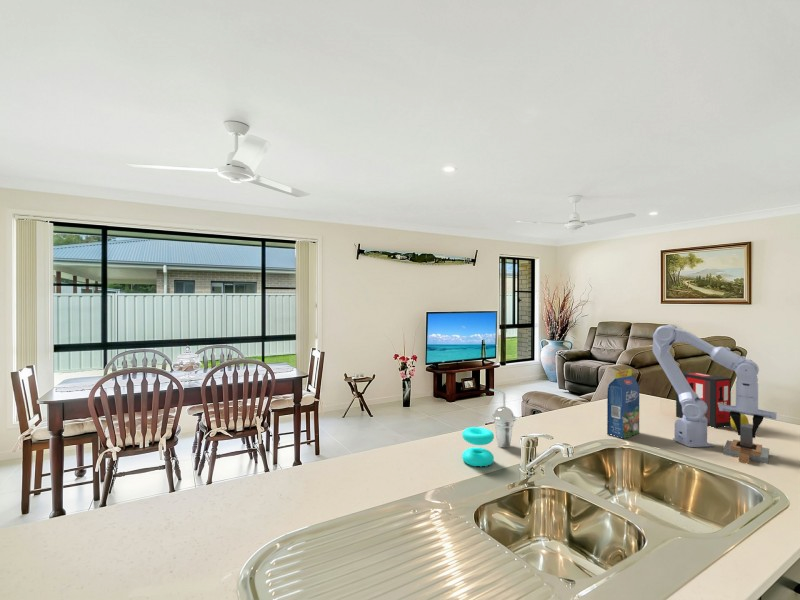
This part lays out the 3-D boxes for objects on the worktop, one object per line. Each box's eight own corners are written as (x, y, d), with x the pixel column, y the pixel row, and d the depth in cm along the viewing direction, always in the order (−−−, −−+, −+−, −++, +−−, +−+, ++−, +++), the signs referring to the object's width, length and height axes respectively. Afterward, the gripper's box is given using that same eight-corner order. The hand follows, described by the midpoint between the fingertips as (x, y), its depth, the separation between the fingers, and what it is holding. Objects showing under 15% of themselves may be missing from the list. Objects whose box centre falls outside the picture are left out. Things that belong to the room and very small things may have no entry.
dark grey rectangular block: (752, 449, 130) (752, 428, 130) (740, 446, 133) (740, 426, 133) (752, 446, 133) (753, 425, 133) (741, 443, 135) (741, 423, 135)
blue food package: (639, 433, 153) (640, 370, 153) (623, 439, 146) (623, 373, 146) (623, 429, 158) (623, 367, 158) (606, 434, 152) (607, 370, 152)
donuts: (460, 434, 123) (464, 424, 132) (460, 466, 123) (463, 454, 132) (493, 437, 120) (494, 427, 129) (493, 470, 120) (494, 457, 130)
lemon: (732, 433, 154) (732, 412, 154) (728, 428, 159) (728, 409, 159) (750, 435, 152) (750, 414, 152) (746, 431, 157) (746, 411, 156)
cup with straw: (506, 452, 134) (507, 393, 134) (485, 444, 141) (485, 389, 141) (520, 446, 139) (521, 390, 139) (499, 439, 146) (500, 385, 146)
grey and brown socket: (767, 468, 122) (767, 458, 122) (721, 458, 130) (721, 449, 130) (769, 454, 133) (769, 445, 133) (727, 445, 141) (727, 437, 141)
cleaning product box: (730, 426, 163) (730, 378, 162) (715, 428, 160) (715, 379, 160) (690, 415, 178) (690, 371, 178) (676, 416, 176) (676, 372, 176)
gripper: (776, 397, 130) (776, 438, 130) (720, 390, 141) (720, 428, 141) (776, 401, 125) (775, 443, 126) (718, 393, 136) (718, 432, 136)
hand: (746, 435), depth 133 cm, fingers closed on dark grey rectangular block, 3 cm apart
